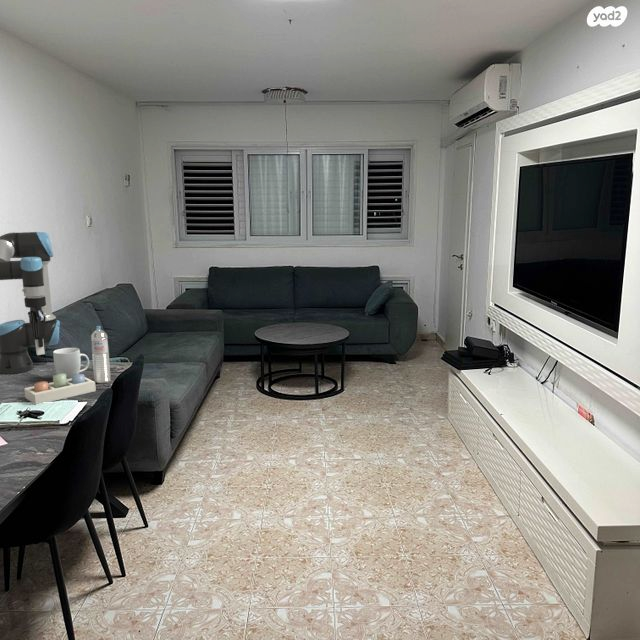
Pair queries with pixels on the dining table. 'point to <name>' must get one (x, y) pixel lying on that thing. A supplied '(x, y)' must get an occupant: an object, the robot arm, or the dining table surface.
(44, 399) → the cream button tray
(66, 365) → the mug
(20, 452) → the dining table surface
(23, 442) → the dining table surface
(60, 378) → the button sage
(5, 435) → the dining table surface
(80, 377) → the button blue
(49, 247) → the robot arm
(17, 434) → the dining table surface
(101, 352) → the water bottle
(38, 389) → the button terracotta
